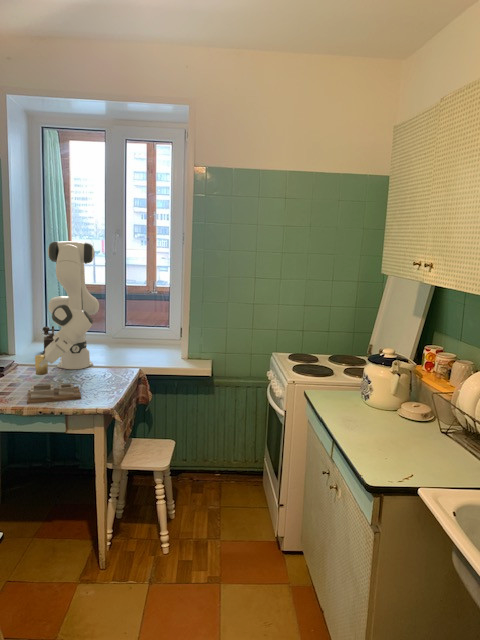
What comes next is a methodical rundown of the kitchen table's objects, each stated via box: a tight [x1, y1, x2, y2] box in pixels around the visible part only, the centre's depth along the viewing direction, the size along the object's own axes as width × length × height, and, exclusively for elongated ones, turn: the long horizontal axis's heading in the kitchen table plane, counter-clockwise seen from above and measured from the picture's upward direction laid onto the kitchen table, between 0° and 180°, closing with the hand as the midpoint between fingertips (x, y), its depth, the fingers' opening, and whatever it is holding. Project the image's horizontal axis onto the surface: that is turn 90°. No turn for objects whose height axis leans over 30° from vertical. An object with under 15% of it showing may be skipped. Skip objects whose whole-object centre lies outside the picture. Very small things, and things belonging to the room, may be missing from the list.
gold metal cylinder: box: [34, 354, 49, 376], centre depth 213 cm, size 5×5×8 cm
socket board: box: [26, 383, 82, 405], centre depth 217 cm, size 15×22×4 cm
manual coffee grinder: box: [42, 325, 55, 355], centre depth 289 cm, size 16×11×18 cm
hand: (39, 364), depth 213 cm, fingers closed on gold metal cylinder, 5 cm apart
